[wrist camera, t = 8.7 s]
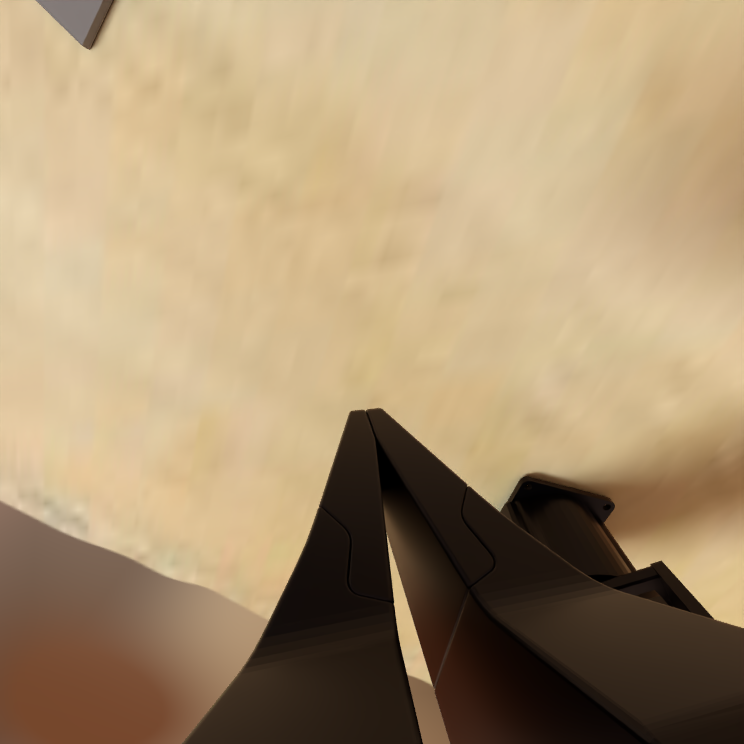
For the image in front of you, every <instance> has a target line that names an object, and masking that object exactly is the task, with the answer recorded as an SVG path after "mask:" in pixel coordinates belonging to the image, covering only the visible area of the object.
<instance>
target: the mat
mask: <svg viewBox="0 0 744 744" xmlns="http://www.w3.org/2000/svg"><path fill="white" fill-rule="evenodd" d="M36 1H37V2H38V3H39V4H40V5H41V6H42V7H43V8H44V9H45V10H46V11H47V12H48V13H49V14H50V15H51V16H52V17H53V18H54V19H55V20H56V21H57V22H58V23H59V24H60V25H61V26H63V27H64V28H65V29H66V30H67V31H68V32H69V33H70V34H71V35H72V36H73V37H74V38H75V39H76V40H77V41H78V42H79V43H80V44H81V45H82V46H84V47H85V48H87V49H89V50H90V48H91V46H92V43H93V41H94V39H95V37H96V35H97V33H98V31H99V29H100V27H101V24H102V22H103V20H104V18H105V16H106V14H107V12H108V10H109V8H110V5H111V3H112V1H113V0H36Z"/></svg>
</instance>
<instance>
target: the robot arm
mask: <svg viewBox="0 0 744 744" xmlns="http://www.w3.org/2000/svg"><path fill="white" fill-rule="evenodd" d="M526 484H529V485H527V486H525V485H526ZM614 508H615V505H614V503H613V502H612V501H611V499H610V498H608V497H604V496H600V495H596V494H593V493H589V492H585V491H581V490H577V489H573V488H570V487H566V486H562V485H558V484H554V483H550V482H547V481H543V480H539V479H535V478H531V477H523V478H522V479H520V480H519V482H518V484H517V485H516V487H515V489H514V491H513V493H512V494H511V496H510V498H509V500H508V501H507V502H506V503H505V505H504V506H503V508H502V510H501V512H499V511H498V510H497V509H496V508H494V507H493V506H492V505H491V504H490V503H488V502H487V501H486V500H485V499H484V498H482V497H481V496H480V495H479V494H478V493H477V492H476V491H474V490H473V489H472V488H471V487H470V486H468V487H467V484H466V483H465V482H464V481H463V480H462V479H461V478H460V477H458V476H457V475H456V474H455V473H454V472H453V471H452V470H451V469H449V468H448V467H447V466H446V465H445V464H444V463H443V462H442V461H440V460H439V459H438V458H437V457H436V456H435V455H434V454H432V453H431V452H430V451H429V450H428V449H427V448H426V447H425V446H423V445H422V444H421V443H420V442H419V441H418V440H417V439H415V438H414V437H413V436H412V435H411V434H410V433H409V432H408V431H406V430H405V429H404V428H403V427H402V426H401V425H400V424H399V423H397V422H396V421H395V420H394V419H393V418H392V417H391V416H389V415H388V414H387V413H386V412H385V411H384V410H383V409H381V408H375V409H367V410H366V411H365V410H355V411H351V412H350V413H349V416H348V419H347V422H346V425H345V428H344V431H343V434H342V437H341V440H340V443H339V447H338V450H337V453H336V456H335V459H334V462H333V465H332V468H331V471H330V474H329V477H328V480H327V483H326V486H325V489H324V492H323V496H322V499H321V502H320V505H319V508H318V510H317V513H316V516H315V519H314V522H313V525H312V528H311V531H310V533H309V536H308V539H307V541H306V544H305V546H304V548H303V551H302V553H301V555H300V557H299V560H298V562H297V564H296V566H295V568H294V571H293V573H292V575H291V577H290V579H289V581H288V583H287V585H286V587H285V589H284V591H283V593H282V595H281V597H280V599H279V601H278V603H277V606H276V608H275V610H274V612H273V614H272V616H271V618H270V620H269V622H268V624H267V626H266V628H265V630H264V632H263V634H262V636H261V638H260V640H259V642H258V644H257V645H256V647H255V649H254V651H253V653H252V654H251V656H250V657H249V659H248V661H247V662H246V664H245V665H244V666H243V668H242V669H241V671H240V672H239V673H238V675H237V676H236V677H235V679H234V680H233V681H232V682H231V684H230V685H229V686H228V687H227V689H226V690H225V691H224V692H223V693H222V695H221V696H220V697H219V698H218V700H217V701H216V702H215V703H214V705H213V706H212V707H211V708H210V710H209V711H208V712H207V713H206V715H205V716H204V717H203V718H202V720H201V721H200V722H199V723H198V725H197V726H196V727H195V728H194V730H193V731H192V732H191V733H190V734H189V736H188V737H187V738H186V739H185V741H184V742H183V743H182V744H423V742H422V738H421V733H420V729H419V725H418V720H417V716H416V712H415V707H414V703H413V699H412V694H411V690H410V686H409V681H408V677H407V673H406V668H405V664H404V660H403V655H402V651H401V647H400V642H399V636H398V630H397V623H396V616H395V607H394V598H393V589H392V580H391V571H390V562H389V552H388V543H387V535H388V538H389V542H390V545H391V548H392V552H393V555H394V558H395V562H396V565H397V568H398V572H399V575H400V578H401V582H402V585H403V588H404V592H405V595H406V598H407V601H408V605H409V608H410V611H411V615H412V618H413V621H414V625H415V628H416V631H417V635H418V638H419V641H420V645H421V648H422V651H423V654H424V658H425V661H426V664H427V668H428V671H429V674H430V678H431V681H432V684H433V687H434V688H435V695H436V698H437V701H438V704H439V708H440V711H441V714H442V718H443V721H444V724H445V728H446V731H447V734H448V738H449V741H450V744H744V628H741V627H737V626H734V625H731V624H727V623H724V622H721V621H717V620H714V618H713V617H712V616H711V615H710V614H709V613H708V612H707V611H706V610H705V608H704V607H703V606H702V605H701V604H700V603H699V602H698V601H697V600H696V598H695V597H694V596H693V595H692V594H691V593H690V592H689V591H688V590H687V588H686V587H685V586H684V585H683V584H682V583H681V582H680V581H679V580H678V578H677V577H676V576H675V575H674V574H673V573H672V572H671V571H670V570H669V569H668V567H667V566H666V565H665V564H664V563H663V562H662V561H659V562H656V563H652V564H650V565H651V566H650V567H647V568H643V569H640V570H637V571H636V569H635V568H634V566H633V565H632V563H631V562H630V561H629V559H628V558H627V556H626V555H625V553H624V552H623V550H622V549H621V548H620V546H619V545H618V543H617V542H616V540H615V539H614V537H613V536H612V535H611V533H610V532H609V530H608V529H607V527H606V526H605V524H604V522H605V520H606V519H607V518H608V516H609V515H610V514H611V512H612V511H613V510H614ZM386 532H387V534H386Z"/></svg>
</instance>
